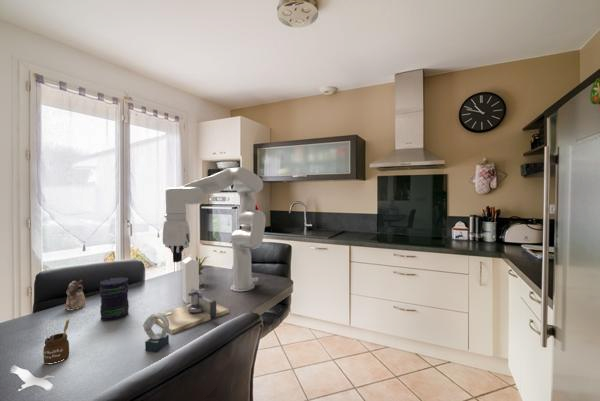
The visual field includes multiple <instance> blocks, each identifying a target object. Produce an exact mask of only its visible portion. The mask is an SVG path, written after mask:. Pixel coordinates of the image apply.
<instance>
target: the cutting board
mask: <svg viewBox="0 0 600 401" xmlns="http://www.w3.org/2000/svg"><path fill="white" fill-rule="evenodd" d="M190 305H191V303H189V304H185V305H183V306H179V307H176V308H172V309H169V310H165V311H162V312H161V313H162V314H164V315H165V316H166V317H167V319H168V322H169V329H168V331H167V333H170V334H171V335H173V334H176V333H178V332H181V331H184V330H186V329H189V328H191V327H195V326H197V325H199V324H202V323H205V322H208V321H211V319H210V315H209V314H207V313H206V312H201V313H190V312H188V307H189V306H190ZM228 313H229V308H226V307H225V306H223V305H220V304H218V303H216V316H217V317H216V318H219V317H220V316H223V315H226V314H228ZM155 324H157V325H159V326H160V327H162V328H163V327H164V324H163V322H162V321H161V320H160V319H159V318H158V319H157V321H156V322H155Z"/></svg>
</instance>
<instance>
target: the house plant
mask: <svg viewBox="0 0 600 401" xmlns="http://www.w3.org/2000/svg"><path fill="white" fill-rule="evenodd" d="M208 257H210V256H208V255H207V256H204V257H203V256H202V257H201V258H199V257H198V255H196V257H195V260H197V261H198V262H199V286H201V285H202V284H203V278H204V271H202V270H203V269H206V264H205V265H204V263H205V262H206V261H207V260H206V259H207V258H208ZM201 260H202V261H201Z"/></svg>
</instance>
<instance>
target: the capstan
mask: <svg viewBox="0 0 600 401" xmlns="http://www.w3.org/2000/svg"><path fill="white" fill-rule="evenodd" d="M205 292H206V289H205V288H199V290H196V289H191V292H189V293H188V296H191V303H190V304H191V305H190V306H189V307H188V312H190V313H201V312H206V313H207V314H209V315H210V320H215V319H217V318H218V317H217V316H216V304H217V300H215V299H214V300H213V299H212V300H211V299H210V298H207V297H205V296H203V293H205Z"/></svg>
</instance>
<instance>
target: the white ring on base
mask: <svg viewBox="0 0 600 401" xmlns="http://www.w3.org/2000/svg"><path fill="white" fill-rule="evenodd" d="M158 318H159V319H160V320H161V321H162V322H163V324H164V327H162V330H161V332H158V333H155V332H154V330H153V327H154V325H155V324H156V321H157V319H158ZM142 324H143V325H142V327H143V331H144V332H145V333H146V335H147V337H149V338H148V339H147V340H145V342H144V343H145V346H144V347H145V349H144V350H145V352H151V353H159V352H160V351H161V350H162V349H164V348H165V347H167V345H169V344H170V343H169V342H170V340H169V336H170V335H169V334H168V329H169V322H168V319H167V317H166V316H165V315H164V314H162V312H157V313H152V314H151V315H150V316H148V317H147V319H145V321H144V322H143V323H142Z"/></svg>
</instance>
